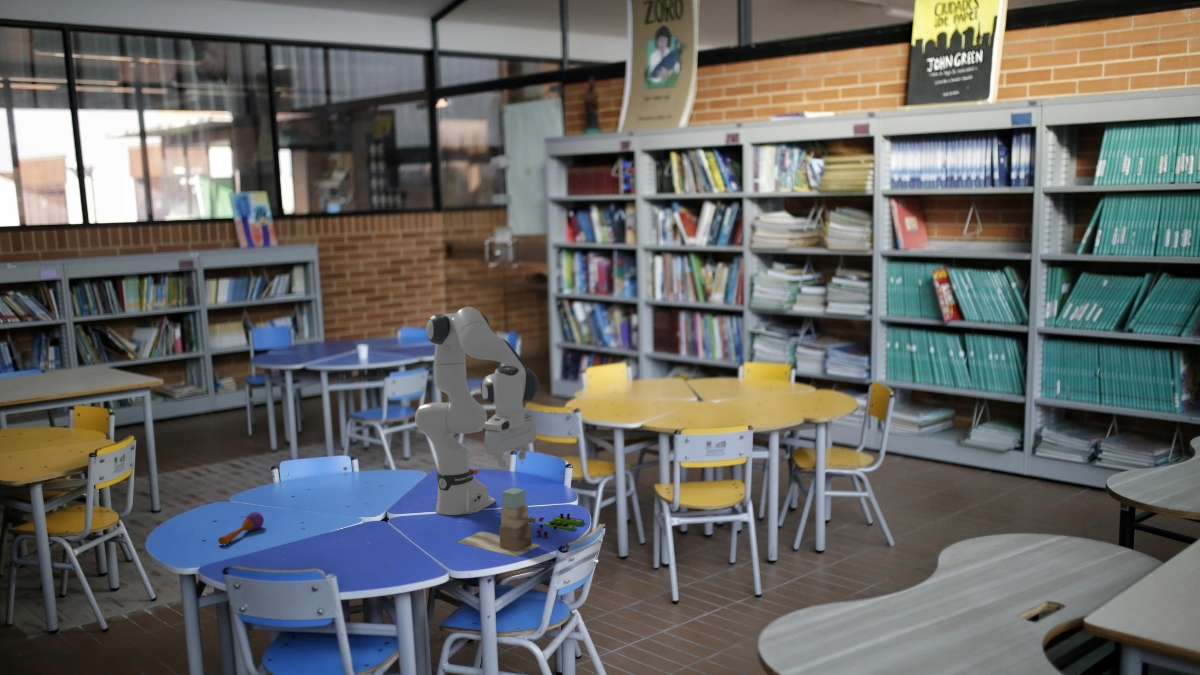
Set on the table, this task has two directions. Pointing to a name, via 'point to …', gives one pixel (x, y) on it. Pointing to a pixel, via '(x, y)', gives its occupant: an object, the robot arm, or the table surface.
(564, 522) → the toy garden set
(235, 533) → the orange and purple maraca
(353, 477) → the table surface
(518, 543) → the walnut base block
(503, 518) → the oak middle block
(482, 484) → the robot arm
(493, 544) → the birch board
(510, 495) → the sage cube
